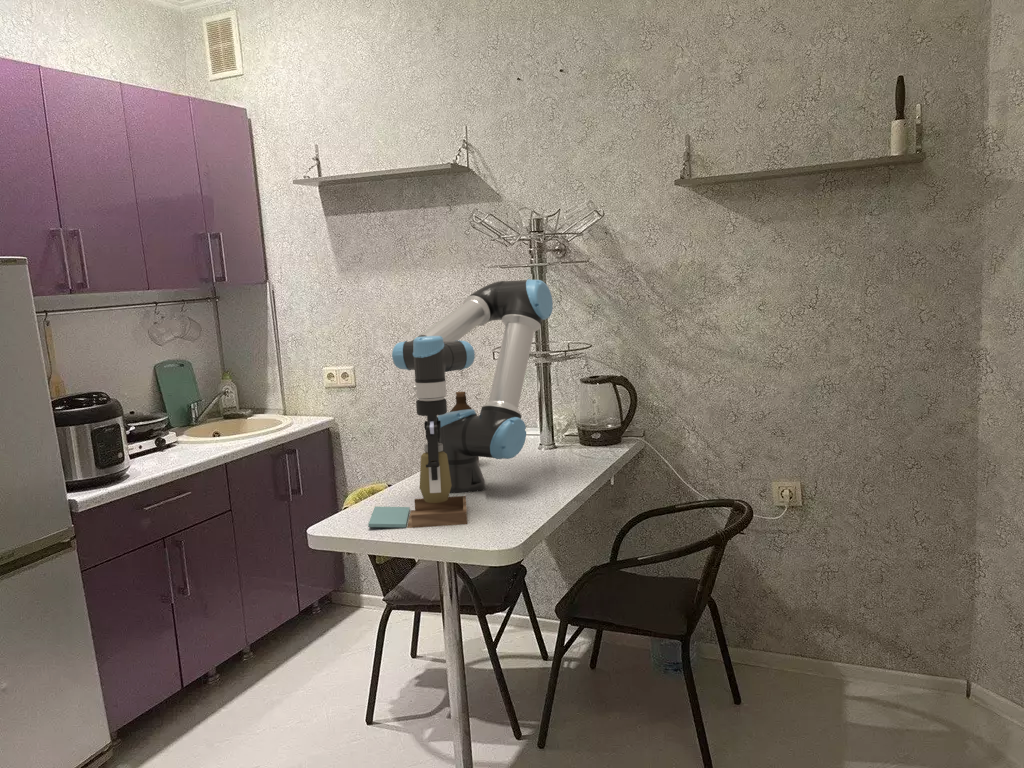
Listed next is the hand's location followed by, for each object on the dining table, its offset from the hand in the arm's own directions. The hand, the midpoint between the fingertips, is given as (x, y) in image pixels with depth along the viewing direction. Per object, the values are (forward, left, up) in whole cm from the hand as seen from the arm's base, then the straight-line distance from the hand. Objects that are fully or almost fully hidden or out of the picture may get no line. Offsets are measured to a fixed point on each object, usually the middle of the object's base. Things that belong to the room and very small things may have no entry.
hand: (435, 488), depth 192 cm
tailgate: (0, -7, -8) cm, 10 cm away
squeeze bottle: (0, 0, -3) cm, 3 cm away
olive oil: (-59, +8, -9) cm, 60 cm away
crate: (0, 0, -9) cm, 9 cm away
